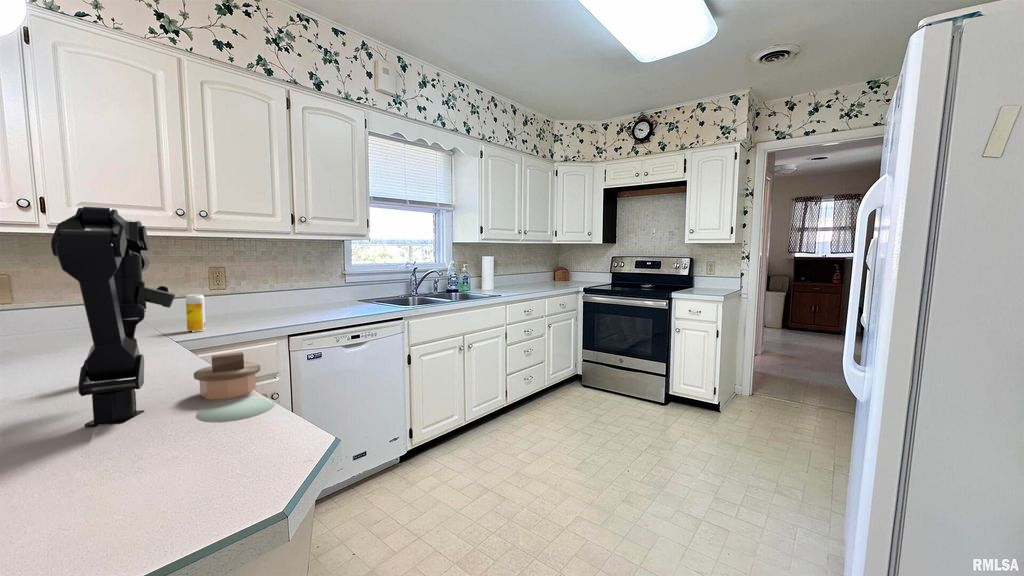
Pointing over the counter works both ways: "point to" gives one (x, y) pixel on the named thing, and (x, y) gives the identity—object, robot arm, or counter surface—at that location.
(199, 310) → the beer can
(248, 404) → the sage mat
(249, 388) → the terracotta bowl
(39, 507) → the counter surface
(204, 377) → the walnut lid
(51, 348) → the counter surface
